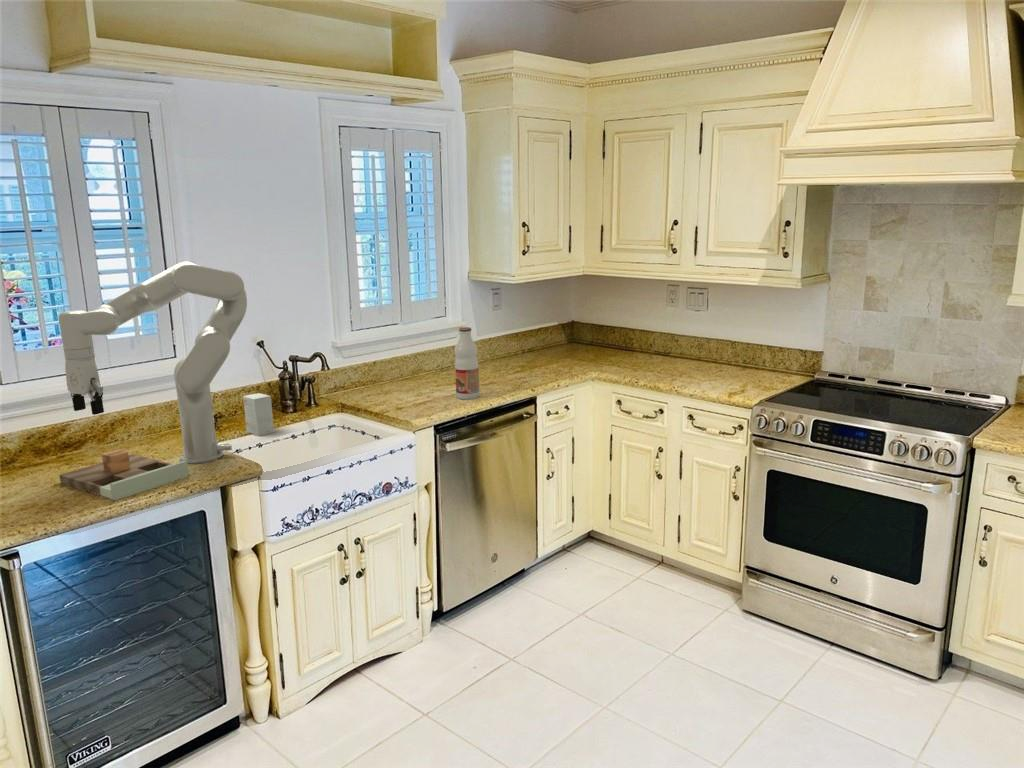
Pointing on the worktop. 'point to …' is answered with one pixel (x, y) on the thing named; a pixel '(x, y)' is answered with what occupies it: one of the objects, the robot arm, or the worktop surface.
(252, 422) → the small box
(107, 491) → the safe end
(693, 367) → the worktop surface
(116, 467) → the block
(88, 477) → the track
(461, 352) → the fruit juice
